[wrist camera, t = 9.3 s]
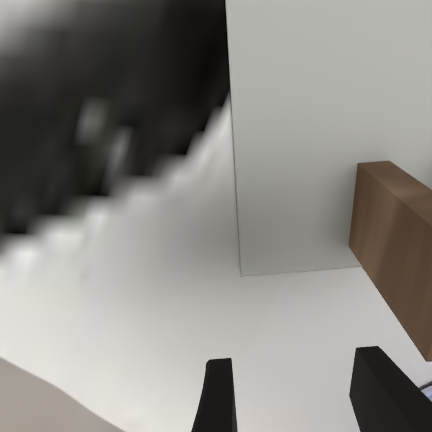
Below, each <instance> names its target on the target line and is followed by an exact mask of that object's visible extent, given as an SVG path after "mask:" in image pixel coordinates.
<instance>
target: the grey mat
mask: <svg viewBox="0 0 432 432" xmlns="http://www.w3.org/2000/svg"><path fill="white" fill-rule="evenodd" d="M225 3H226V20H227V38H228V55H229V73H230V90H231V108H232V126H233V143H234V161H235V178H236V196H237V213H238V231H239V248H240V266H241V277H243V276H255V275H267V274H279V273H291V272H303V271H315V270H327V269H339V268H352V267H362V266H361V264H360V263H359V261H358V260H357V258H356V257H355V255H354V254H353V252H352V251H351V249H350V248H349V247H348V246H349V237H350V228H351V219H352V210H353V201H354V192H355V183H356V174H357V165H358V163H365V162H377V161H391V162H392V163H394V164H395V165H397V166H398V167H399V168H401V169H402V170H404V171H405V172H407V173H408V174H410V175H411V176H412V177H414V178H415V179H417V180H418V181H420V182H421V183H423V184H424V185H425V186H427V187H428V188H430V189H431V190H432V0H225Z"/></svg>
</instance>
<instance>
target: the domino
mask: <svg viewBox="0 0 432 432" xmlns="http://www.w3.org/2000/svg"><path fill="white" fill-rule="evenodd" d="M348 247H349V248H350V249H351V251H352V252H353V254H354V255H355V257H356V258H357V260H358V261H359V263H360V264H361V266H362V267H363V269H364V270H365V272H366V273H367V275H368V276H369V278H370V279H371V281H372V282H373V284H374V285H375V286H376V288H377V289H378V291H379V292H380V294H381V295H382V297H383V298H384V300H385V301H386V303H387V304H388V306H389V307H390V309H391V310H392V312H393V313H394V315H395V316H396V318H397V319H398V321H399V322H400V323H401V325H402V326H403V328H404V329H405V331H406V332H407V334H408V335H409V337H410V338H411V340H412V341H413V343H414V344H415V346H416V347H417V349H418V350H419V352H420V353H421V355H422V356H423V358H424V359H425V361H426V362H430V361H432V190H431V189H430V188H428V187H427V186H425V185H424V184H423V183H421V182H420V181H418V180H417V179H415V178H414V177H412V176H411V175H410V174H408V173H407V172H405V171H404V170H402V169H401V168H399V167H398V166H397V165H395V164H394V163H392V162H391V161H377V162H365V163H358V165H357V174H356V183H355V192H354V201H353V210H352V219H351V228H350V237H349V246H348Z"/></svg>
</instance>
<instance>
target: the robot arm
mask: <svg viewBox="0 0 432 432" xmlns="http://www.w3.org/2000/svg"><path fill="white" fill-rule="evenodd" d="M349 396H350V399H351V403H352V406H353V409H354V413H355V416H356V419H357V422H358V425H359V428H360V431H361V432H432V385H431V386H429V387H427V388H425V389H423V390H420V389H419V388H418V387H417V386H416V385H415V384H414V383H413V382H412V381H411V380H410V379H409V378H408V377H407V376H406V375H405V374H404V373H403V372H402V370H401V369H400V368H399V367H398V366H397V365H396V364H395V363H394V362H393V361H392V360H391V359H390V358H389V357H388V356H387V355H386V354H385V352H384V351H383V350H382V349H381V348H379V347H378V346H372V347H360V348H356V352H355V359H354V366H353V373H352V380H351V387H350V394H349ZM191 432H237V420H236V408H235V396H234V384H233V372H232V360H231V358H224V359H212V360H209V361H208V362H207V363H206V372H205V378H204V384H203V389H202V394H201V398H200V402H199V406H198V410H197V414H196V417H195V421H194V424H193V428H192V431H191Z"/></svg>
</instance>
